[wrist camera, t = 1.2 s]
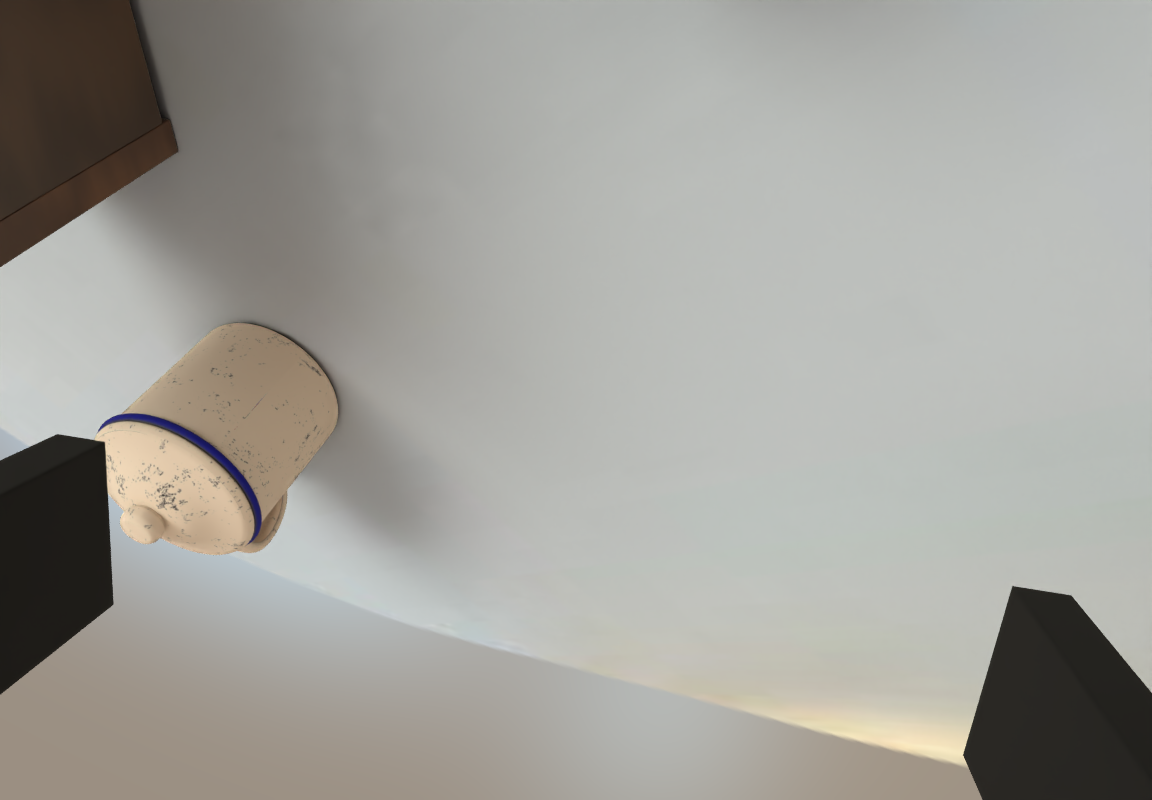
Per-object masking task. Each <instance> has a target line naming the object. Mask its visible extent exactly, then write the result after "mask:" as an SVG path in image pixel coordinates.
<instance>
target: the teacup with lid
mask: <svg viewBox="0 0 1152 800" xmlns="http://www.w3.org/2000/svg"><path fill="white" fill-rule="evenodd" d="M337 419H338V403H337V399H336V395H335V392H334V390H333V387H332V385H331V383H330V381H329V379H328V378H327V376H326V375H325V373H324V372H323V370H322V369H321V368H320V367H319V365H318V364H317V363H316V362H315V361H314V360H313V359H312V358H311V357H310V356H309V355H308V354H307V353H306V352H305V351H304V350H303V349H301V348H300V347H299V346H298V345H296V344H295V343H294V342H292V341H291V340H289V339H287V338H286V337H284V336H282V335H280V334H278V333H276V332H274V331H272V330H269V329H267V328H264V327H261V326H257V325H253V324H246V323H231V324H226V325H223V326H219V327H217V328H215V329H214V330H212V331H211V332H209V333H208V334H207V335H206V336H205V337H204V338H203V339H202V340H201V341H200V342H199V343H198V344H196V345H195V346H194V347H193V348H192V349H191V350H190V351H189V352H188V353H187V354H186V355H185V356H184V357H182V358H181V359H180V360H179V361H178V362H177V363H176V364H175V365H174V366H173V367H172V368H171V369H169V370H168V371H167V372H166V373H165V374H164V375H163V376H162V377H161V378H160V379H159V380H158V381H157V382H155V383H154V384H153V385H152V386H151V387H150V388H149V389H148V390H147V391H146V392H145V393H144V394H142V395H141V396H140V397H139V398H138V399H137V400H136V401H135V402H134V403H133V404H132V405H131V406H130V407H128V408H127V409H126V410H125V411H124V412H123V413H122V414H120V415H117V416H114V417H112V418H110V419H108V420H107V421H105V422H104V423H103V424H102V426H101V427H100V429H99V430H98V433H97V435H96V437H95V439H94V440H97V441H103V442H105V448H106V468H107V488H108V494H109V495H110V496H111V498H112V499H113V500H114V501H115V502H116V503H117V504H118V505H119V506H120V508H121V509H122V510H123V511H124V513H123V514H122V516H121V519H120V525H121V528H122V530H123V531H124V532H125V533H126V534H127V535H128V536H129V537H130V538H132V539H133V540H135V541H137V542H139V543H142V544H151V543H154V542H156V541H157V540H158V539H159V538H162V539H164V540H165V541H167V542H169V543H171V544H174V545H176V546H178V547H181V548H184V549H186V550H190V551H193V552H197V553H202V554H209V555H222V554H228V553H232V552H235V551H240V552H245V553H254V552H258V551H260V550H262V549H263V548H264V547H265V546H267V545H268V543H269V542H270V541H271V540H272V538H273V537H274V535H275V534H276V532H277V530H278V528H279V526H280V524H281V522H282V519H283V516H284V513H285V509H286V504H287V489H288V488H289V487H290V486H291V484H292V483H293V482H294V481H295V479H296V478H297V477H298V475H299V474H300V473H301V472H302V470H303V469H304V468H305V467H306V465H307V464H308V463H309V461H310V460H311V459H312V458H313V456H314V455H315V454H316V452H317V451H318V450H319V449H320V447H321V446H322V445H323V444H324V442H325V441H326V440H327V438H328V437H329V436H330V435H331V433H332V432H333V430H334V428H335V426H336V423H337Z"/></svg>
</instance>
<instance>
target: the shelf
mask: <svg viewBox="0 0 1152 800" xmlns="http://www.w3.org/2000/svg"><path fill="white" fill-rule="evenodd" d="M177 152H178V148H177V145H176V141H175V137H174V133H173V130H172V126H171V122H170V120H169V119H164V118H161V116H160V112H159V108H158V105H157V101H156V97H155V94H154V90H153V86H152V83H151V79H150V75H149V72H148V68H147V64H146V61H145V57H144V53H143V50H142V46H141V43H140V39H139V35H138V32H137V28H136V24H135V21H134V17H133V13H132V10H131V6H130V2H129V0H0V267H1V266H3V265H4V264H6V263H8V262H9V261H11V260H12V259H14V258H15V257H17V256H18V255H20V254H21V253H23V252H24V251H26V250H28V249H29V248H31V247H32V246H34V245H35V244H37V243H38V242H40V241H41V240H43V239H44V238H46V237H48V236H49V235H51V234H52V233H54V232H55V231H57V230H58V229H60V228H61V227H63V226H64V225H66V224H68V223H69V222H71V221H72V220H74V219H75V218H77V217H78V216H80V215H81V214H83V213H84V212H86V211H88V210H89V209H91V208H92V207H94V206H95V205H97V204H98V203H100V202H101V201H103V200H104V199H106V198H108V197H109V196H111V195H112V194H114V193H115V192H117V191H118V190H120V189H121V188H123V187H124V186H126V185H128V184H129V183H131V182H132V181H134V180H135V179H137V178H138V177H140V176H141V175H143V174H144V173H146V172H148V171H149V170H151V169H152V168H154V167H155V166H157V165H158V164H160V163H161V162H163V161H164V160H166V159H168V158H169V157H171V156H172V155H174V154H175V153H177Z"/></svg>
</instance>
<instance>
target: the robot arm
mask: <svg viewBox="0 0 1152 800" xmlns="http://www.w3.org/2000/svg"><path fill="white" fill-rule="evenodd" d="M111 568H112V567H111V547H110V529H109V508H108V488H107V468H106V448H105V442H103V441H97V440H90V439H84V438H78V437H71V436H65V435H59V434H57V435H55V436H53V437H50V438H48V439H46V440H44V441H42V442H39V443H37V444H35V445H33V446H31V447H29V448H26V449H24V450H22V451H20V452H18V453H16V454H14V455H11V456H9V457H7V458H5V459H3V460H1V461H0V694H1V693H3V692H4V691H5V690H6V689H8V688H9V687H10V686H12V685H13V684H14V683H15V682H17V681H18V680H19V679H20V678H22V677H23V676H24V675H25V674H27V673H28V672H29V671H30V670H32V669H33V668H34V667H35V666H37V665H38V664H39V663H40V662H42V661H43V660H44V659H45V658H47V657H48V656H49V655H51V654H52V653H53V652H54V651H56V650H57V649H58V648H59V647H61V646H62V645H63V644H64V643H66V642H67V641H68V640H69V639H71V638H72V637H73V636H74V635H76V634H77V633H78V632H79V631H80V630H81V629H83V628H84V627H86V626H87V625H88V624H90V623H91V622H92V621H93V620H95V619H96V618H97V617H98V616H100V615H101V614H102V613H103V612H105V611H106V610H107V609H108V608H110V607H111V606H112V605H113V587H112V569H111ZM963 756H964V758H965V760H966V763H967V765H968V767H969V770H970V772H971V774H972V776H973V778H974V781H975V783H976V785H977V788H978V790H979V792H980V795H981V797H982V799H983V800H1152V693H1151V692H1150V690H1149V689H1148V688H1147V687H1146V686H1145V684H1144V683H1143V682H1142V681H1141V679H1140V678H1139V677H1138V676H1137V675H1136V673H1135V672H1134V671H1133V670H1132V669H1131V667H1130V666H1129V665H1128V664H1127V663H1126V661H1125V660H1124V659H1123V658H1122V656H1121V655H1120V654H1119V653H1118V652H1117V650H1116V649H1115V648H1114V647H1113V646H1112V644H1111V643H1110V642H1109V641H1108V640H1107V638H1106V637H1105V636H1104V635H1103V633H1102V632H1101V631H1100V630H1099V629H1098V627H1097V626H1096V625H1095V624H1094V623H1093V621H1092V620H1091V619H1090V618H1089V617H1088V615H1087V614H1086V613H1085V612H1084V610H1083V609H1082V608H1081V607H1080V606H1079V604H1078V603H1077V602H1076V601H1075V600H1074V598H1073V597H1072V596H1071V595H1065V594H1059V593H1052V592H1046V591H1040V590H1033V589H1027V588H1021V587H1015V586H1012V590H1011V593H1010V596H1009V600H1008V603H1007V607H1006V610H1005V614H1004V617H1003V620H1002V624H1001V627H1000V631H999V634H998V637H997V641H996V644H995V648H994V651H993V655H992V658H991V661H990V665H989V668H988V672H987V675H986V679H985V682H984V685H983V689H982V692H981V696H980V699H979V703H978V706H977V709H976V713H975V716H974V720H973V723H972V727H971V730H970V733H969V737H968V740H967V744H966V747H965V751H964V754H963Z"/></svg>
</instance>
